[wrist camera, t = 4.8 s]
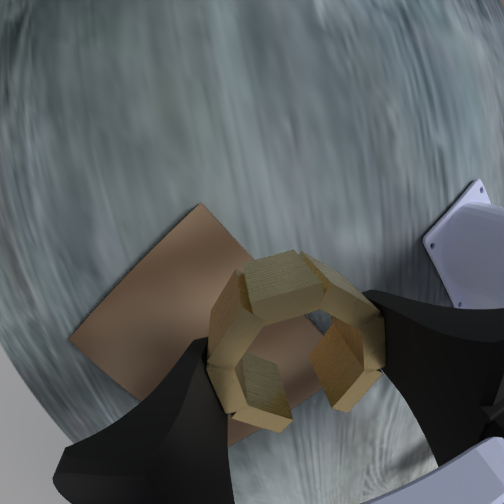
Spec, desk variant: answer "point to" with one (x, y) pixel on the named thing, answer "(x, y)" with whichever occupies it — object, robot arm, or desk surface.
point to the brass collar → (282, 308)
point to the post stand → (187, 316)
